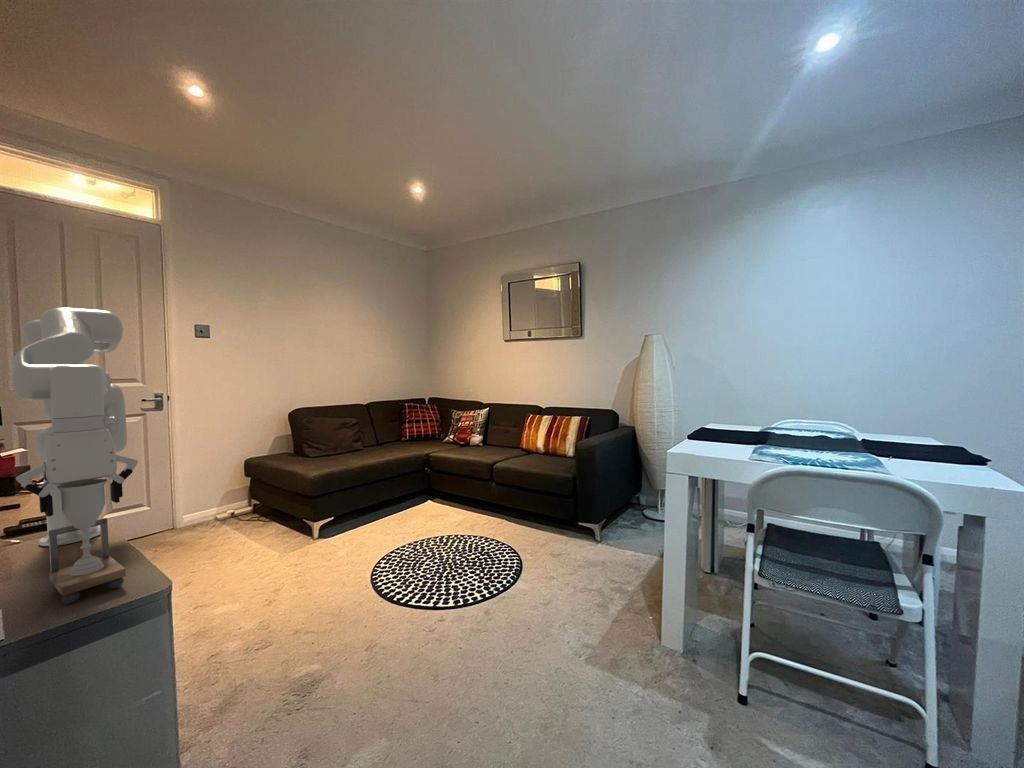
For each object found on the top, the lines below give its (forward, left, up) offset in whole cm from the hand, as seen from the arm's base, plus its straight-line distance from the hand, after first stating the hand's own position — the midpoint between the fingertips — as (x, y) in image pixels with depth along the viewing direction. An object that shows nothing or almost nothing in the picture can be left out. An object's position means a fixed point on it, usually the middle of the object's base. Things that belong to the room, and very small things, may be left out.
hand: (83, 508), depth 85 cm
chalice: (0, 0, -13) cm, 13 cm away
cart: (0, 0, -17) cm, 17 cm away
